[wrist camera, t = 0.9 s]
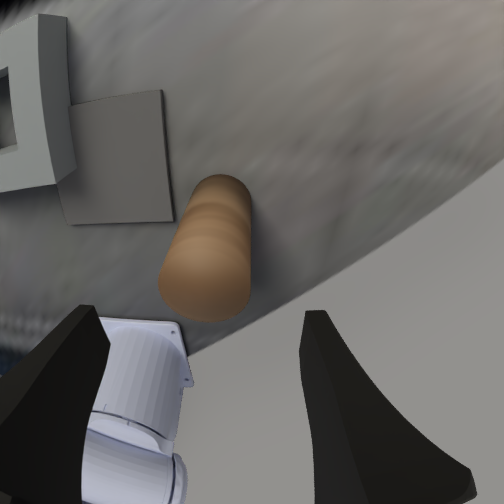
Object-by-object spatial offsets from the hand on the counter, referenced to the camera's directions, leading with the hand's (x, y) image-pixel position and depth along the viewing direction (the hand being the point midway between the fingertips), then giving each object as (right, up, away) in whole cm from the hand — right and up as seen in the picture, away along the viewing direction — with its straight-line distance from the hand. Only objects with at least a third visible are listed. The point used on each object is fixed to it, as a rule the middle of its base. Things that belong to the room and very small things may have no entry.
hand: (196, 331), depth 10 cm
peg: (0, +6, +8) cm, 10 cm away
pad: (-7, +8, +7) cm, 13 cm away
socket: (-14, +12, +4) cm, 19 cm away
